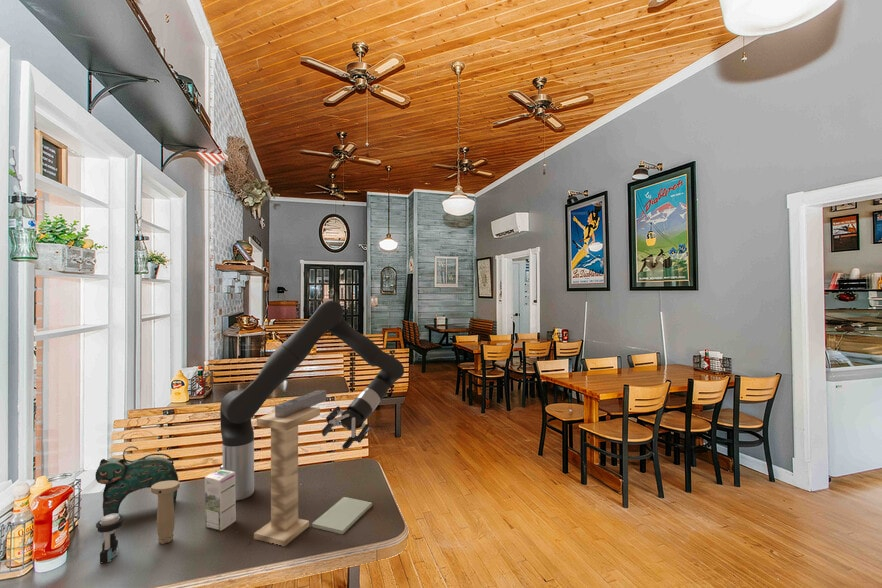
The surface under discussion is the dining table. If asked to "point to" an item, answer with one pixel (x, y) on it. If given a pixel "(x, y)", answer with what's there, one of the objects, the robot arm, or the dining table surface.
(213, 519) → the syrup box
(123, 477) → the ceramic cat
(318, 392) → the long grey plank
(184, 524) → the dining table surface
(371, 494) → the dining table surface
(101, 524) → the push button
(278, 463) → the stand
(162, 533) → the handle
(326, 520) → the mat
